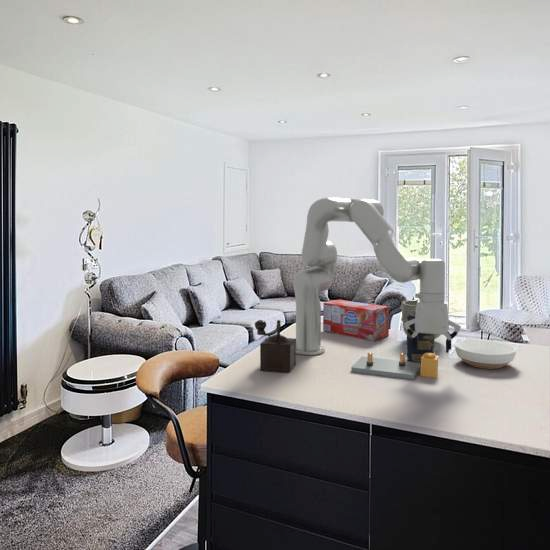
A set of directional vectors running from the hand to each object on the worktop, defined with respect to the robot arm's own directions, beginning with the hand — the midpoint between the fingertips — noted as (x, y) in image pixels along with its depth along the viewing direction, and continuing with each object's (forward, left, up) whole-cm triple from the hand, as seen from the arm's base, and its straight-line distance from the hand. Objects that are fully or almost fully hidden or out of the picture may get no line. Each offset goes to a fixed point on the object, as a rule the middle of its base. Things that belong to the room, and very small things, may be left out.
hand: (431, 350), depth 155 cm
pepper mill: (-49, -15, -9) cm, 51 cm away
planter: (-9, +44, -8) cm, 46 cm away
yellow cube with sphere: (-1, 0, -8) cm, 8 cm away
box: (-38, +46, -9) cm, 60 cm away
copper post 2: (-10, +2, -8) cm, 13 cm away
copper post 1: (-20, -2, -8) cm, 21 cm away
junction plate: (-15, 0, -8) cm, 17 cm away
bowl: (+15, +20, -9) cm, 27 cm away
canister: (-6, +15, -8) cm, 18 cm away
